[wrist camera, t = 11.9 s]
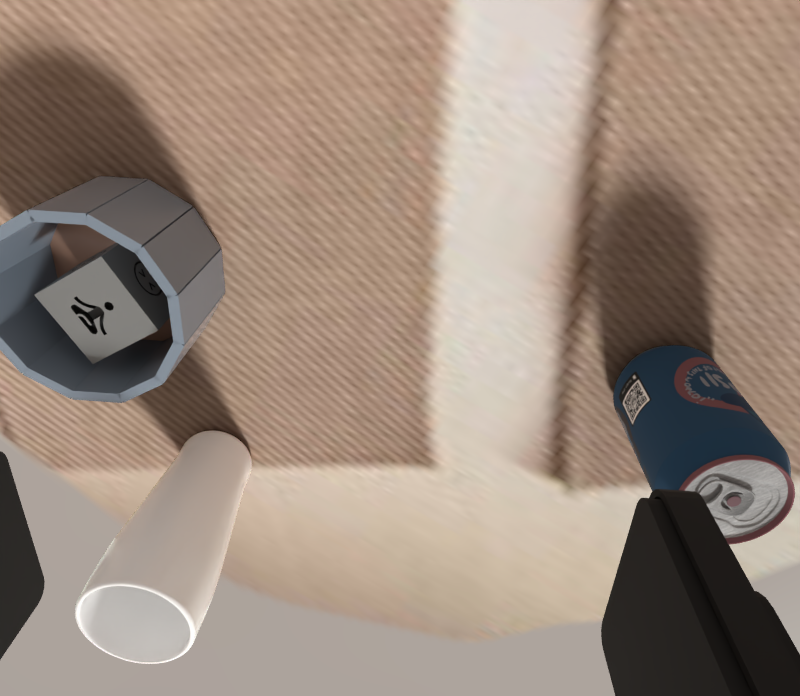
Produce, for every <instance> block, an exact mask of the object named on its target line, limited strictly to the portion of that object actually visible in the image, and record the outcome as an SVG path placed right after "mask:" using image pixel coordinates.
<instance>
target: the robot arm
mask: <svg viewBox="0 0 800 696" xmlns="http://www.w3.org/2000/svg"><path fill="white" fill-rule="evenodd" d="M43 590H44V576H43V573H42V570H41V567H40V563H39V560H38V557H37V554H36V550H35V547H34V544H33V541H32V537H31V534H30V531H29V528H28V524H27V521H26V518H25V515H24V512H23V508H22V505H21V502H20V499H19V495H18V492H17V489H16V485H15V482H14V479H13V476H12V472H11V469H10V466H9V463H8V459H7V457H6V455H5V454H4V453H3V452H0V659H1V658H2V656H3V655H4V653H5V652H6V650H7V649H8V647H9V646H10V645H11V643H12V642H13V640H14V639H15V637H16V636H17V634H18V633H19V631H20V630H21V628H22V627H23V625H24V624H25V622H26V621H27V620H28V618H29V617H30V615H31V613H32V612H33V611H34V609H35V608H36V606H37V605H38V603H39V601H40V599H41V597H42V594H43ZM601 632H602V635H601V637H602V645H603V650H604V653H605V658H606V662H607V665H608V669H609V673H610V676H611V680H612V684H613V688H614V692H615V696H800V654H799V652H798V651H797V649H796V647H795V645H794V644H793V642H792V640H791V638H790V637H789V635H788V633H787V631H786V630H785V628H784V626H783V624H782V622H781V621H780V619H779V617H778V616H777V614H776V612H775V610H774V608H773V607H772V606H771V604H770V603H769V602H768V600H767V599H766V598H765V597H764V596H763V595H761V594H760V593H759V592H757V591H754V590H753V588H752V586H751V584H750V582H749V580H748V579H747V577H746V575H745V573H744V571H743V570H742V568H741V566H740V564H739V562H738V561H737V559H736V557H735V555H734V553H733V552H732V550H731V548H730V546H729V544H728V542H727V541H726V539H725V537H724V535H723V533H722V532H721V530H720V528H719V526H718V524H717V523H716V521H715V519H714V517H713V515H712V514H711V512H710V510H709V508H708V506H707V504H706V503H705V501H704V499H703V498H702V496H701V495H700V494H699V493H697V492H695V491H681V490H668V489H655V490H654V491H653V492H652V493H651V495H650V498H641V499H640V500H639V501H638V503H637V506H636V509H635V513H634V516H633V520H632V523H631V526H630V530H629V533H628V536H627V540H626V543H625V547H624V550H623V553H622V557H621V560H620V564H619V567H618V570H617V574H616V577H615V580H614V584H613V587H612V591H611V594H610V597H609V601H608V604H607V607H606V611H605V614H604V618H603V621H602V629H601Z"/></svg>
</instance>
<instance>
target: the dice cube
mask: <svg viewBox="0 0 800 696" xmlns="http://www.w3.org/2000/svg"><path fill="white" fill-rule="evenodd" d="M35 296H36V298H37V299H38V300H39V301H40V302H41V304H42V305H43V306H44V307H45V308H46V309H47V311H48V312H49V313H50V314H51V315H52V317H53V318H54V319H55V320H56V321H57V322H58V324H59V325H60V326H61V327H62V328H63V330H64V331H65V332H66V333H67V334H68V335H69V337H70V338H71V339H72V340H73V341H74V343H75V344H76V345H77V346H78V347H79V348H80V350H81V351H82V352H83V353H84V354H85V356H86V357H87V358H88V359H89V360H90V361H91V363H92V364H94V363H96V362H98V361H100V360H102V359H104V358H106V357H108V356H110V355H111V354H113V353H115V352H117V351H119V350H121V349H123V348H125V347H127V346H129V345H131V344H133V343H135V342H137V341H139V340H141V339H143V338H145V337H146V336H148V335H150V334H152V333H154V332H156V331H158V330H159V329H160V328H161V327H162V326H163V325H164V323H165V322H166V321H167V320H168V319H169V318H170V314H169V307H168V300H167V296H166V295H165V293H164V292H163V291H162V289H161V288H160V286H159V285H158V284H157V282H156V281H155V280H154V278H153V277H152V275H151V274H150V273H149V271H148V270H147V269H146V267H145V266H144V264H143V263H142V262H141V260H140V259H139V258H138V256H137V255H136V253H134V252H132V251H130V250H129V249H127V248H125V247H123V246H122V245H120V244H118V243H115V244H113V245H111V246H109V247H108V248H106V249H104V250H102V251H101V252H99V253H97V254H95V255H94V256H92V257H90V258H88V259H87V260H85V261H83V262H82V263H80V264H78V265H77V266H75V267H74V268H72V269H71V270H69V271H68V272H67V273H65V274H64V275H62V276H61V277H59V278H58V279H56V280H55V281H53V282H52V283H51V284H49V285H48V286H46V287H45V288H43V289H42V290H40V291H39V292H37V293H36V294H35Z"/></svg>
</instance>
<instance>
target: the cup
mask: <svg viewBox="0 0 800 696" xmlns="http://www.w3.org/2000/svg"><path fill="white" fill-rule="evenodd" d="M192 207H193V206H192V205H191V204H189V203H187V202H186V201H184V200H182V199H181V198H179V197H177V196H176V195H174V194H172V193H171V192H169V191H167V190H166V189H164V188H162V187H161V186H159V185H157V184H156V183H154V182H152V181H151V180H148V179H139V178H123V177H107V176H98V177H96V178H94V179H92V180H90V181H88V182H86V183H83V184H81V185H79V186H77V187H75V188H73V189H71V190H68V191H66V192H64V193H62V194H60V195H58V196H56V197H53V198H51V199H49V200H47V201H45V202H43V203H41V204H39V205H36V206H34V207H32V208H30V209H28V210H26V211H24V212H23V213H21V214H19V215H18V216H16V217H14V218H12V219H11V220H9V221H7V222H6V223H4V224H2V225H1V226H0V350H1V351H2V352H3V353H4V355H5V356H6V357H7V358H8V359H9V360H10V361H11V362H12V364H13V365H14V366H15V367H16V368H17V369H18V370H19V371H20V373H23V375H25V376H27V377H29V378H31V379H33V380H35V381H37V382H39V383H41V384H43V385H45V386H46V387H48V388H50V389H52V390H54V391H56V392H58V393H60V394H62V395H64V396H66V397H68V398H70V399H71V398H72V399H74V400H89V401H103V402H117V403H122V402H123V403H124V402H126V401H128V400H130V399H132V398H134V397H136V396H139V395H141V394H143V393H145V392H147V391H149V390H151V389H154V388H156V387H158V386H160V385H162V384H163V383H164V382H165V381H166V380H167V378H168V377H169V376H170V374H171V373H172V372H173V370H174V369H175V368H176V366H177V365H178V364H179V362H180V361H181V360H182V358H183V357H184V356H185V354H186V353H187V352H188V350H189V349H190V348H191V346H192V345H193V344H194V342H195V341H196V340H197V338H198V337H199V336H200V334H201V333H202V332H203V330H204V329H205V328H206V326H207V325H208V323H209V321H210V319H211V317H212V316H213V314H214V312H215V310H216V308H217V307H218V305H219V303H220V301H221V299H222V298H223V296H224V294H225V282H224V271H223V260H222V249H220V248H221V247H220V245H219V244H218V242H217V241H216V239H215V238H214V236H213V235H212V233H211V232H210V230H209V229H208V227H207V226H206V224H205V223H204V221H203V220H202V218H201V217H200V215H199V214H198V212H197V211H196V209H195V208H194V207H193V208H192ZM115 243H118V244H120V245H122V246H123V247H125V248H127V249H129V250H130V251H132V252H134V253H136V255H137V256H138V258H139V259H140V260H141V262H142V263H143V264H144V266H145V267H146V269H147V270H148V271H149V273H150V274H151V275H152V277H153V278H154V280H155V281H156V282H157V284H158V285H159V286H160V288H161V289H162V291H163V292H164V293H165V295H166V296H167V300H168V307H169V314H170V318H169V319H168V320H167V321H166V322H165V323H164V325H163V326H162V327H161V328H160V329H159V330H158V331H156V332H154V333H152V334H150V335H148V336H146V337H145V338H143V339H141V340H139V341H137V342H135V343H133V344H131V345H129V346H127V347H125V348H123V349H121V350H119V351H117V352H115V353H113V354H111V355H110V356H108V357H106V358H104V359H102V360H100V361H98V362H96V363H94V364H92V363H91V361H90V360H89V359H88V358H87V357H86V356H85V354H84V353H83V352H82V351H81V350H80V348H79V347H78V346H77V345H76V344H75V343H74V341H73V340H72V339H71V338H70V337H69V335H68V334H67V333H66V332H65V331H64V330H63V328H62V327H61V326H60V325H59V324H58V322H57V321H56V320H55V319H54V318H53V317H52V315H51V314H50V313H49V312H48V311H47V309H46V308H45V307H44V306H43V305H42V304H41V302H40V301H39V300H38V299H37V298H36V296H35V294H36V293H37V292H39V291H40V290H42V289H43V288H45V287H46V286H48V285H49V284H51V283H52V282H53V281H55V280H56V279H58V278H59V277H61V276H62V275H64V274H65V273H67V272H68V271H69V270H71V269H72V268H74V267H75V266H77V265H78V264H80V263H82V262H83V261H85V260H87V259H88V258H90V257H92V256H94V255H95V254H97V253H99V252H101V251H102V250H104V249H106V248H108V247H109V246H111V245H113V244H115Z"/></svg>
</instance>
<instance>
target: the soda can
mask: <svg viewBox="0 0 800 696" xmlns="http://www.w3.org/2000/svg"><path fill="white" fill-rule="evenodd" d="M613 400H614V406H615V410H616V412H617V414H618V417H619V419H620V421H621V423H622V425H623V428H624V430H625V432H626V434H627V436H628V439H629V441H630V443H631V445H632V447H633V450H634V452H635V454H636V456H637V458H638V461H639V463H640V465H641V467H642V469H643V472H644V474H645V476H646V478H647V480H648V483H649V485H650V487H651V489H652V491H654V490H655V489H668V490H681V491H695V492H697V493H699V494H700V495H701V496H702V498H703V499H704V501H705V503H706V504H707V506H708V508H709V510H710V512H711V514H712V515H713V517H714V519H715V521H716V523H717V524H718V526H719V528H720V530H721V532H722V533H723V535H724V537H725V539H726V541H727V542H728V544H737V543H742V542H746V541H750V540H753V539H756V538H758V537H760V536H762V535H764V534H766V533H768V532H769V531H771V530H772V529H774V528H775V527H776V526H778V525H779V524H780V523H781V522H782V521H783V520H784V518H785V517H786V516H787V515H788V513H789V511H790V510H791V508H792V505H793V502H794V497H795V489H794V484H793V482H792V479H791V467H790V461H789V457H788V455H787V453H786V451H785V449H784V448H783V447H782V445H781V444H780V443H779V442H778V440H777V439H776V438H775V436H774V435H773V434H772V433H771V431H770V430H769V429H768V428H767V426H766V425H765V424H764V423H763V421H762V420H761V419H760V418H759V416H758V415H757V414H756V413H755V411H754V410H753V409H752V408H751V406H750V405H749V404H748V403H747V401H746V400H745V399H744V398H743V396H742V395H741V394H740V392H739V391H738V390H737V389H736V387H735V386H734V385H733V384H732V382H731V381H730V380H729V379H728V377H727V376H726V375H725V374H724V372H723V371H722V370H721V369H720V367H719V366H718V365H717V364H716V362H715V361H714V360H713V359H712V358H711V357H710V356H708V355H707V354H705V353H704V352H702V351H700V350H698V349H695V348H691V347H687V346H680V345H669V346H660V347H655V348H652V349H649V350H646V351H644V352H642V353H641V354H639V355H637V356H636V357H635V358H633V359H632V360H631V361H630V362H629V363H628V365H627V366H626V367H625V368H624V370H623V371H622V372H621V374H620V376H619V378H618V380H617V382H616V385H615V389H614V395H613Z"/></svg>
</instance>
